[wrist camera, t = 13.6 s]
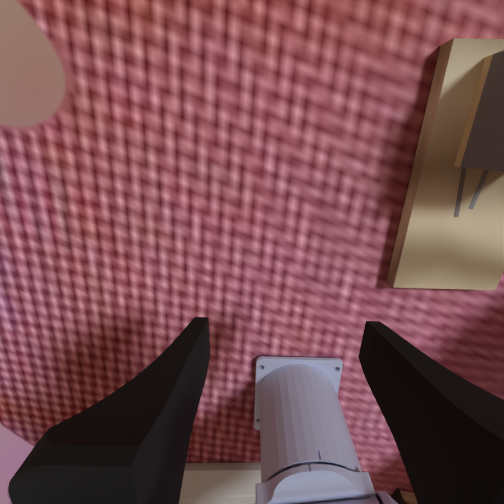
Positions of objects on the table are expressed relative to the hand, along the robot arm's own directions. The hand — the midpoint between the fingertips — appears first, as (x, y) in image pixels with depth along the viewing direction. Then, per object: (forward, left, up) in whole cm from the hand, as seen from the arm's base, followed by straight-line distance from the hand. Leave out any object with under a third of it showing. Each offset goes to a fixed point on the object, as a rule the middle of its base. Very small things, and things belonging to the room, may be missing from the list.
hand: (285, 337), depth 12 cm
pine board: (+6, -14, -10) cm, 18 cm away
